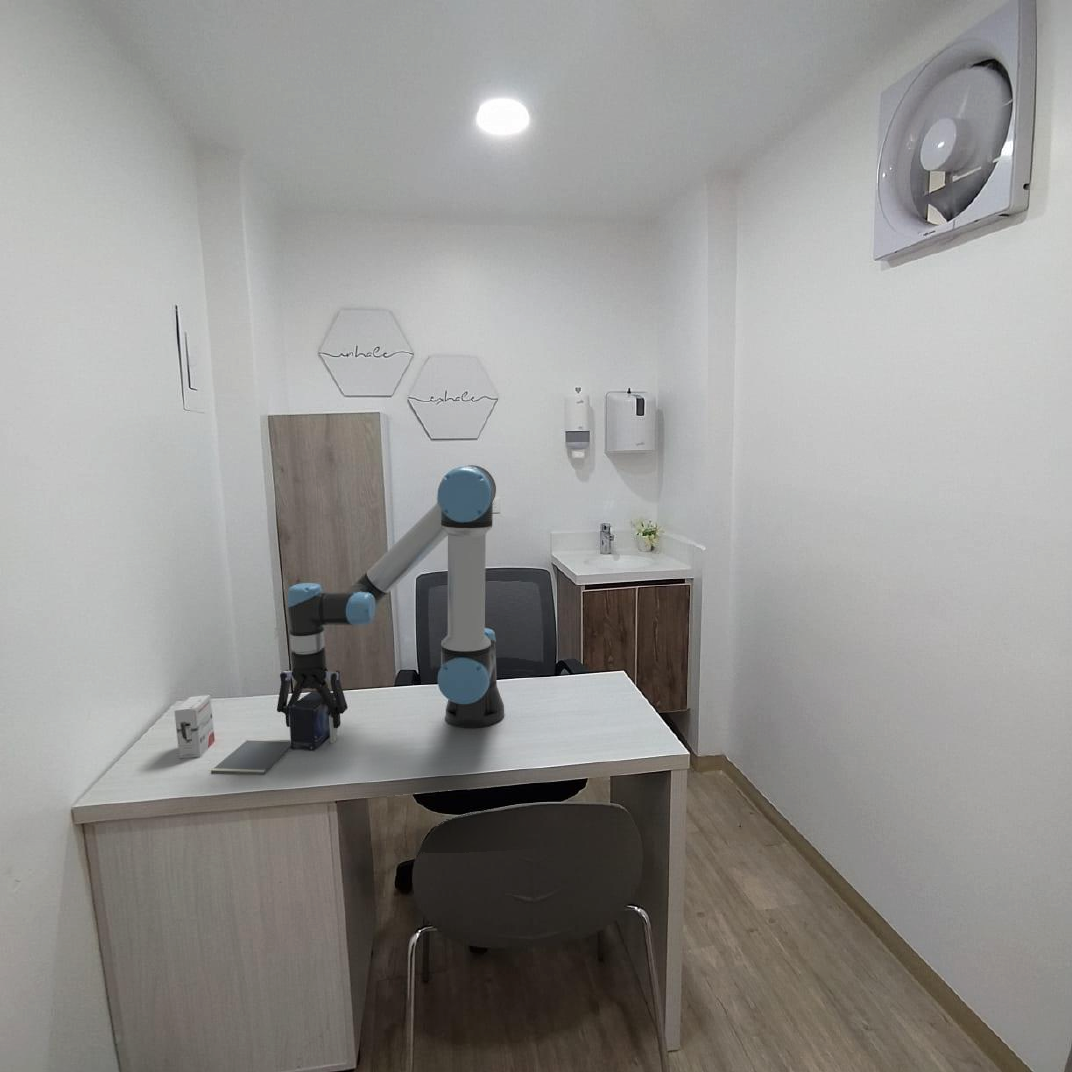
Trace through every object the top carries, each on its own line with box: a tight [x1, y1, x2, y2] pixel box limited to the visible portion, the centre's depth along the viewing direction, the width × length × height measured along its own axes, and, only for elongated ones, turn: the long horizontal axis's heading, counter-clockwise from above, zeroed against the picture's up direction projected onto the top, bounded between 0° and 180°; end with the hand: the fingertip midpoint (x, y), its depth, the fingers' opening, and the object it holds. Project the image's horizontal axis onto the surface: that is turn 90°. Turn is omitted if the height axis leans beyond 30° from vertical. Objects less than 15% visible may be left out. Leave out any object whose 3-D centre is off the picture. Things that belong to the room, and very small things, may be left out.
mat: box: [210, 738, 291, 776], centre depth 146 cm, size 12×15×1 cm
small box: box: [289, 690, 335, 752], centre depth 153 cm, size 11×6×10 cm, turn 168°
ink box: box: [173, 694, 216, 759], centre depth 150 cm, size 9×5×12 cm, turn 5°
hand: (314, 739), depth 154 cm, fingers open, 9 cm apart
